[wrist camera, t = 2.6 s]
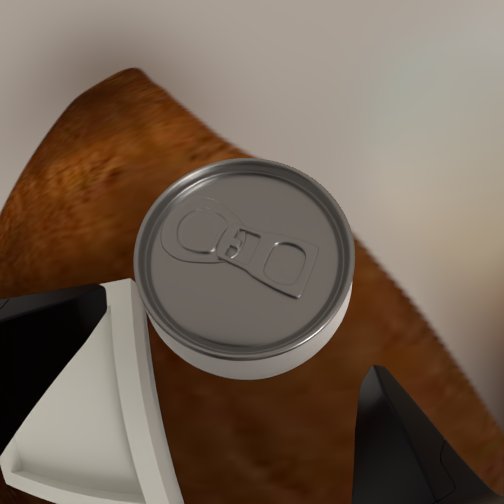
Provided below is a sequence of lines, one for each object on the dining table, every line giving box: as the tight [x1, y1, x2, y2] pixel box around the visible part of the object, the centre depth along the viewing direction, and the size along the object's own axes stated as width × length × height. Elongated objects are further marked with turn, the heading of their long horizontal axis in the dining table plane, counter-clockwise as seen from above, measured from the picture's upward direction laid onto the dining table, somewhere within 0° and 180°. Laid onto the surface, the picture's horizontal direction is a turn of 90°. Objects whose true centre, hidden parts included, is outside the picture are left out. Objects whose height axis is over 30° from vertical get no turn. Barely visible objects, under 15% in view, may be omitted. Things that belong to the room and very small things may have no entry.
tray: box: [0, 278, 184, 504], centre depth 14 cm, size 16×16×2 cm
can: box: [134, 158, 355, 380], centre depth 12 cm, size 6×6×12 cm
